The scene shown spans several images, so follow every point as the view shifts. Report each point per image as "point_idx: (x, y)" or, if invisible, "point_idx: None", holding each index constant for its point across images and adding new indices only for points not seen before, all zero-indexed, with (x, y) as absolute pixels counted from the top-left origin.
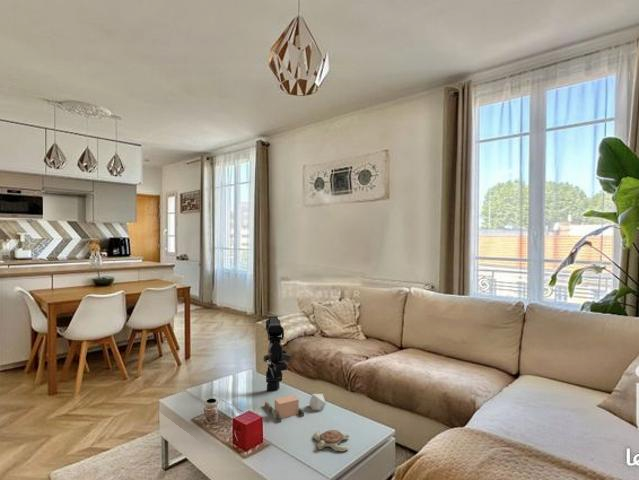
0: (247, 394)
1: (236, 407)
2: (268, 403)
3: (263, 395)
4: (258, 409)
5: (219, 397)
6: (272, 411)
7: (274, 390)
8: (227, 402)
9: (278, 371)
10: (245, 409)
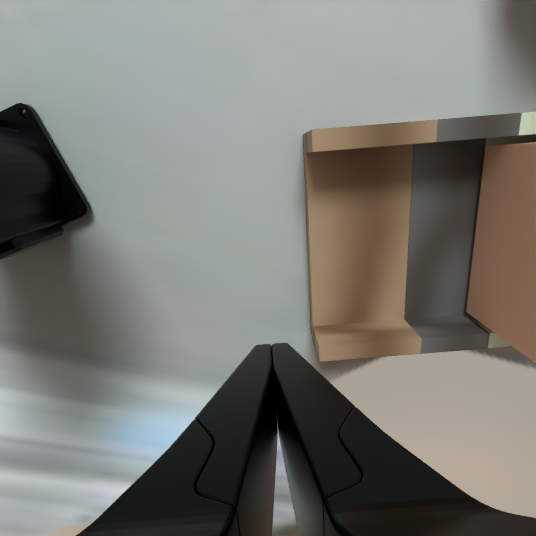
0: (30, 385)
1: None
2: (365, 343)
3: (79, 283)
4: None
5: (39, 531)
6: (491, 343)
7: (48, 189)
8: None
9: (397, 446)
10: None
